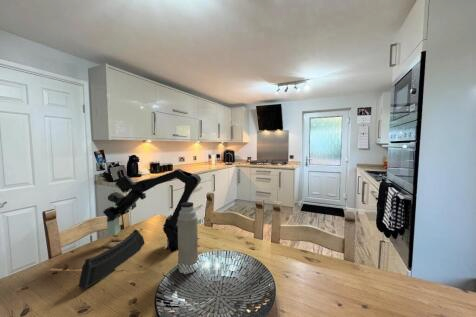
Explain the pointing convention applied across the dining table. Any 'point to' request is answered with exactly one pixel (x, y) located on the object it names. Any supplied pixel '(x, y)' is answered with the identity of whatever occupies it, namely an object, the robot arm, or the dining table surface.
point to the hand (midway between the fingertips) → (110, 219)
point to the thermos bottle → (187, 235)
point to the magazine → (109, 260)
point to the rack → (110, 242)
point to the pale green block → (113, 227)
